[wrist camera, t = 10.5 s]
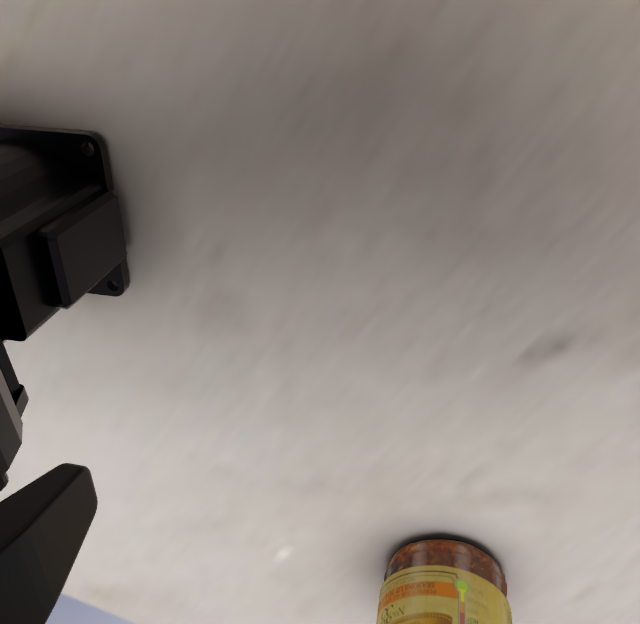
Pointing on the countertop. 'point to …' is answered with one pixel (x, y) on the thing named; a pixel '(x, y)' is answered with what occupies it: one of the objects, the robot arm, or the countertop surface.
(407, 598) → the sauce bottle
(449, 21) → the countertop surface
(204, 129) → the countertop surface
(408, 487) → the countertop surface
